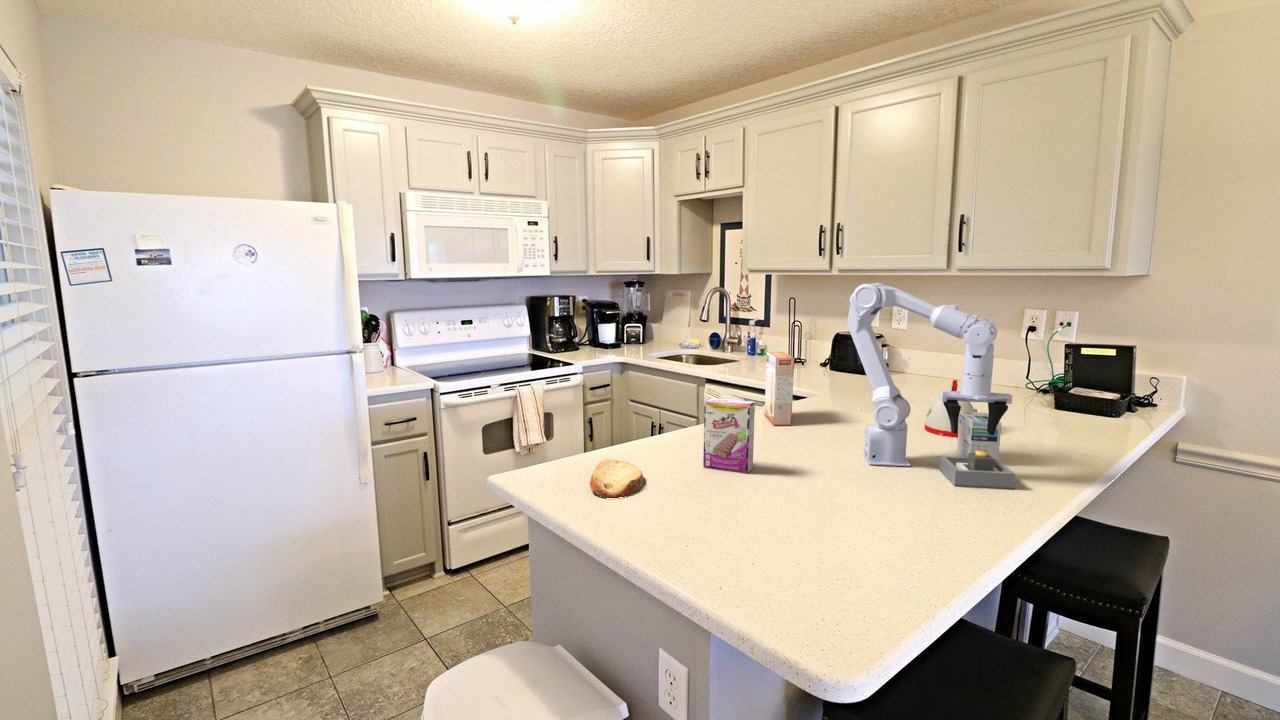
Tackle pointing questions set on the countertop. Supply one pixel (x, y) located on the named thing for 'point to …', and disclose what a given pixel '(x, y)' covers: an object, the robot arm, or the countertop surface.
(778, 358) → the cracker box
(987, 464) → the plug
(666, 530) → the countertop surface
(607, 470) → the slice of bread
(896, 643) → the countertop surface
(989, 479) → the box
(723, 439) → the candy bar box
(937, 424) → the cream dome
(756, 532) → the countertop surface
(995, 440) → the light bulb box
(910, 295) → the robot arm
